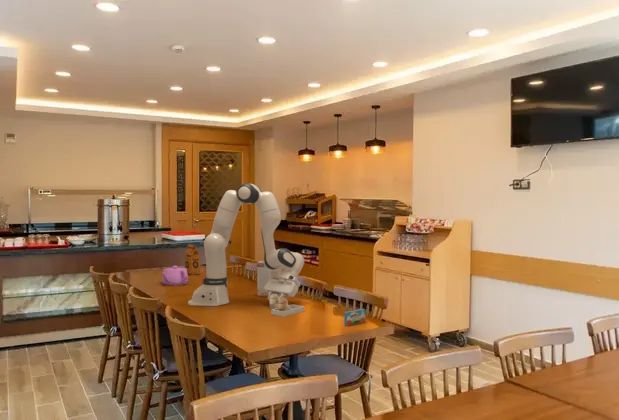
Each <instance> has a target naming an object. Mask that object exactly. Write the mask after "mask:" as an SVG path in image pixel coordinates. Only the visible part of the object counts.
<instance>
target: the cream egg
mask: <svg viewBox="0 0 619 420" xmlns="http://www.w3.org/2000/svg"><path fill="white" fill-rule="evenodd" d="M278 297H279V296H278V295H277V294H272V295H271V296H270V300H269V309H275V308H278V302H277V298H278Z"/></svg>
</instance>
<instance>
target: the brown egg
mask: <svg viewBox="0 0 619 420" xmlns="http://www.w3.org/2000/svg"><path fill="white" fill-rule="evenodd" d="M288 305H289V301H288V299H287V298H286V297H285V298H281V299H279V301H278V311H283V312H284V311H288Z"/></svg>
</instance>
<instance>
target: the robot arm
mask: <svg viewBox="0 0 619 420" xmlns="http://www.w3.org/2000/svg"><path fill="white" fill-rule="evenodd" d="M243 204H246V205H247V204H248V205H252V204H254V205H256V207H257V210H258V212H259V218H260V223H261V225H260V227H261V229H260V233H261V239H262V245H263V250H264V254H263V255H264V256H263V261H264V262H265V265H266V266H267V267H268V268H269V269H272V270H275V269H277V268H280V267H281V268H282V271H281V273H280V275H279V276H278V278H272V279H270V280H269V281H268V282H267V284H266V285H265V287H264V290H265V291H266V293H269V297H267V300H268V301H270V296H271V295H272V294H277V295H281V296H280V297H278V298H277V302H278V301H279V299H281V298H285V299H286V297H289V298H293V297H295V296H296V294H297V293H298V290H299V287H301V283H300V281H299V280H298V278H297V276H298V275H299V274H300V273H301V270H302V269H303V267H304V265H305V258H304V256H303V255H302V254H301V253H299V252H294V251H290V250H289V249H288V248H286V247H285V248H284V247H283V248H279V249H276V245H275V240H274V232H275V231H276V229H277V228H278V226H279V225H280V223H281V220H282V216H281V210H280V207H279V203H278V202H277V199H276V197H275V194H274V193H273V192H271V191H262V190H261V188H260V187H259V186H258V185H256V184H253V183H249V182H248V183H245V182H244V183H242V184H240V185H239V186H238V187H237V189H236V190H233V189H229V190H227V191H225V192H224V195H223V196H222V198H221V199H220V202H219V204H218V207H217V210H216V212H215V215H214V218H213V223H212V228H211V231H210V234H208V235H207V236H206V237H205V239H204V240H203V248H204V256H205V263H206V264H205V265H206V266H205V267H206V270H205V272H206V274H205V276H203V277H202V284H201V285H200V286H199V287H198V288H196V289H195V290H194V291H193V292H192V296H191V299H189V300H188V301H187V305H188V306H196V307H197V306H199V307H200V306H203V307H204V306H205V307H218V306H221V305H226V304H229V303H230V299H229V298H230V297H229V295H228V281H229V279H228V277H227V258H226V248H227V247H228V245H229V241H230V238H231V235H232V231H233V227H234V224H235V221H236V220H237V217H238V213H239V210H240V208H241V206H242V205H243Z"/></svg>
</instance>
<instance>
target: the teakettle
mask: <svg viewBox="0 0 619 420" xmlns="http://www.w3.org/2000/svg"><path fill="white" fill-rule="evenodd" d="M161 271H162V272H161V274H162V275H161V276H162V278H161V282H162V285H163V284H165V286H169V285H173V286H172V287H178V286H177V285H180V286H184V285H183V284H185V285H187V284H188V283H189V276H188V275H189V274H188V273H187V268H185V267H178V265H172V267H167V268H163V269H162V270H161Z"/></svg>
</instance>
